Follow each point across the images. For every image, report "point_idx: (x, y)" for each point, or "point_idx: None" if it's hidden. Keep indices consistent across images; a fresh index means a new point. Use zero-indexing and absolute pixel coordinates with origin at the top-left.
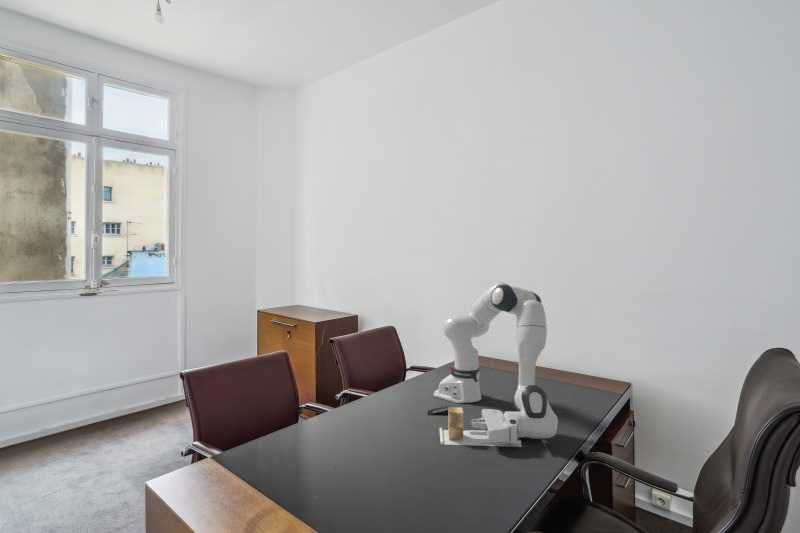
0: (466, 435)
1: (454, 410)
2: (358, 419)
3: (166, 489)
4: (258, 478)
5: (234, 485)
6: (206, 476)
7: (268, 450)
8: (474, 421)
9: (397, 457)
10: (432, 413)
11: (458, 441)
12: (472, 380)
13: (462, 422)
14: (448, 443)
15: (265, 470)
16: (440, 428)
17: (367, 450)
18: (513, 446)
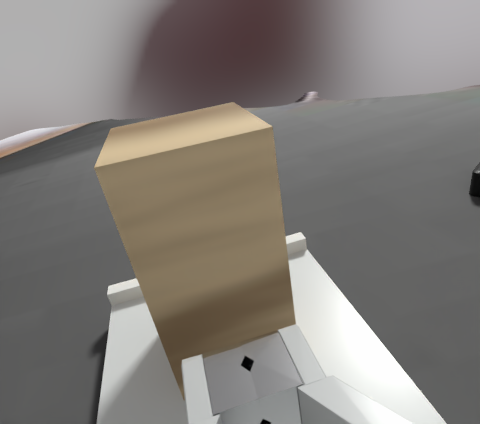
0: None
1: (160, 128)
2: (287, 126)
3: (19, 135)
4: (19, 154)
5: (6, 151)
6: (42, 135)
7: None
8: (224, 368)
9: (54, 233)
10: (473, 171)
11: (160, 371)
12: None
13: (135, 267)
14: (123, 325)
15: (44, 149)
16: (291, 237)
17: None
18: None
